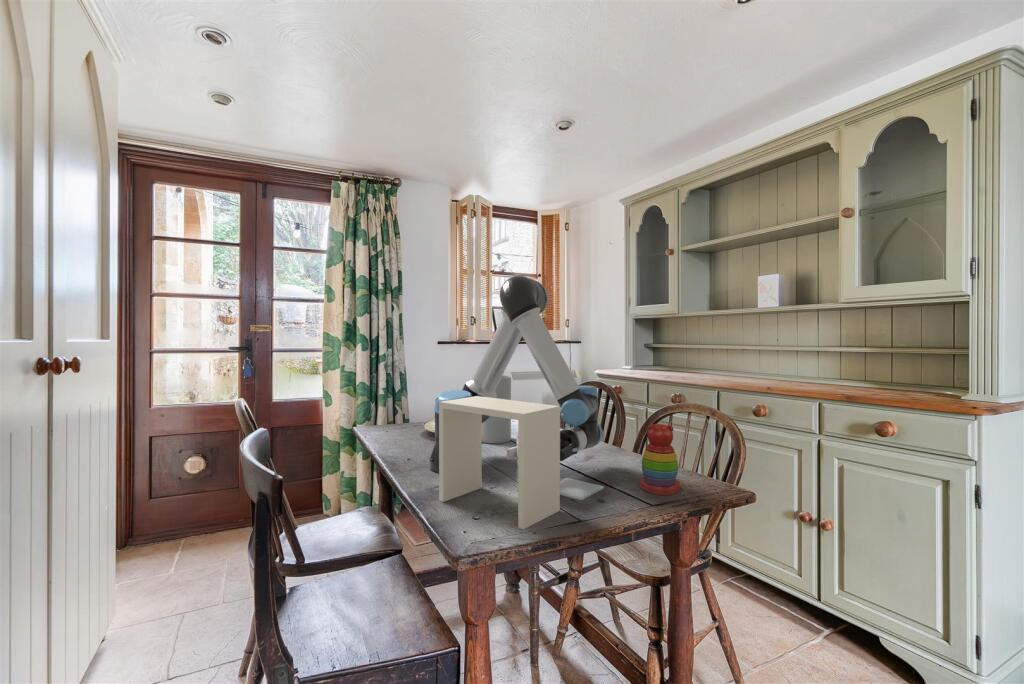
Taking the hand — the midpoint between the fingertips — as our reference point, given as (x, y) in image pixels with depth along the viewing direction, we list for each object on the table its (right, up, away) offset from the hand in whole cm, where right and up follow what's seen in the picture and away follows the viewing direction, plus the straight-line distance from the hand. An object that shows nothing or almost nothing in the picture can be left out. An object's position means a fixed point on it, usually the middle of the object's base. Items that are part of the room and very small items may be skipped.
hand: (521, 457), depth 122 cm
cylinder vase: (-9, -9, +62) cm, 63 cm away
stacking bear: (+38, -10, +5) cm, 39 cm away
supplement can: (+3, -8, +4) cm, 9 cm away
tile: (+14, -10, +5) cm, 18 cm away
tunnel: (-6, -10, -7) cm, 14 cm away
